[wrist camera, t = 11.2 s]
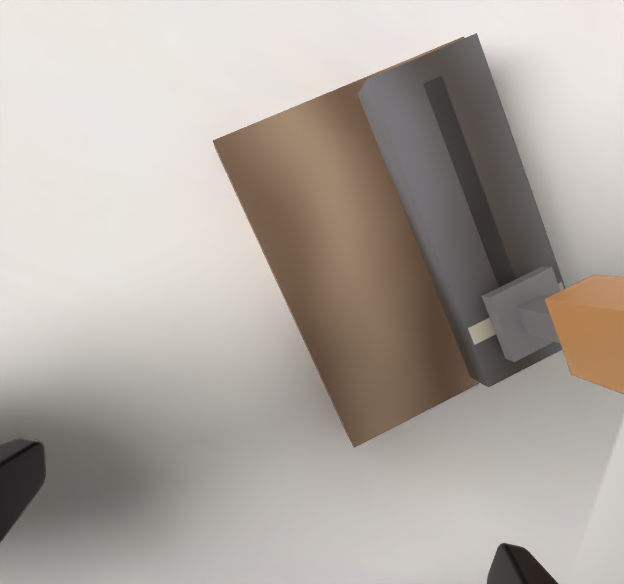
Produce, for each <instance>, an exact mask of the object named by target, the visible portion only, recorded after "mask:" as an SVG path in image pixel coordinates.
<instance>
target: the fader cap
mask: <svg viewBox="0 0 624 584" xmlns="http://www.w3.org/2000/svg"><path fill="white" fill-rule="evenodd" d="M482 298H483V301H484V304H485V306H486V309H487V312H488V314H489V317H490V319H491V322H492V325H493V327H494V330H495V333H496V335H497V338H498V340H499V343H500V346H501V348H502V351H503V353H504V356H505V359H508V360H510V361H513V362H516V361H518V360H520V359H522V358H523V357H525V356H527V355H529V354H531V353H533V352H535V351H537V350H539V349H541V348H543V347H545V346H547V345H549V344H551V343H553V342H556V343H559V344H561V346H562V349H563V352H564V355H565V357H566V360H567V363H568V366H569V369H570V372H571V374H572V375H574V376H577V377H579V378H582V379H585V380H588V381H590V382H593V383H596V384H598V385H601V386H604V387H606V388H609V389H612V390H614V391H617V392H620V393H622V394H624V277H618V276H601V275H592V276H590V277H588V278H586V279H584V280H582V281H580V282H578V283H576V284H574V285H572V286H570V287H568V288H566V289H564V290H562V291H560V288H559V285H558V283H557V280H556V277H555V274H554V271H553V268H552V267H540V268H538V269H536V270H534V271H532V272H530V273H528V274H526V275H524V276H522V277H520V278H518V279H516V280H513V281H511V282H509V283H507V284H505V285H503V286H501V287H499V288H497V289H495V290H493V291H491V292H489V293H487V294H485V295H483V296H482Z"/></svg>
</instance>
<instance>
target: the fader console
mask: <svg viewBox="0 0 624 584" xmlns="http://www.w3.org/2000/svg"><path fill="white" fill-rule="evenodd" d="M213 143H214V146H215V149H216V151H217V153H218V155H219V158H220V160H221V162H222V164H223V166H224V169H225V171H226V173H227V175H228V177H229V179H230V182H231V184H232V186H233V188H234V190H235V192H236V195H237V197H238V199H239V201H240V203H241V205H242V208H243V210H244V212H245V214H246V216H247V218H248V221H249V223H250V225H251V227H252V229H253V231H254V234H255V236H256V238H257V240H258V242H259V244H260V247H261V249H262V251H263V253H264V255H265V257H266V260H267V262H268V264H269V266H270V268H271V270H272V273H273V275H274V277H275V279H276V281H277V283H278V286H279V288H280V290H281V292H282V294H283V296H284V299H285V301H286V303H287V305H288V307H289V309H290V312H291V314H292V316H293V318H294V320H295V322H296V325H297V327H298V329H299V331H300V333H301V335H302V338H303V340H304V342H305V344H306V346H307V348H308V351H309V353H310V355H311V357H312V359H313V361H314V364H315V366H316V368H317V370H318V372H319V375H320V377H321V379H322V381H323V383H324V385H325V388H326V390H327V392H328V394H329V396H330V398H331V401H332V403H333V405H334V407H335V409H336V411H337V414H338V416H339V418H340V420H341V422H342V424H343V427H344V429H345V431H346V433H347V435H348V437H349V439H350V441H351V443H352V444H353V446H354V447H356V446H358V445H360V444H362V443H364V442H366V441H368V440H370V439H372V438H374V437H376V436H378V435H380V434H382V433H384V432H385V431H387V430H389V429H391V428H393V427H395V426H397V425H399V424H401V423H403V422H405V421H407V420H409V419H411V418H413V417H415V416H417V415H419V414H421V413H423V412H424V411H426V410H428V409H430V408H432V407H434V406H436V405H438V404H440V403H442V402H444V401H446V400H448V399H450V398H452V397H454V396H456V395H458V394H460V393H461V392H463V391H465V390H467V389H469V388H471V387H473V386H475V385H477V384H479V383H482V384H484V385H486V386H487V387H490V386H492V385H494V384H496V383H498V382H500V381H502V380H504V379H506V378H507V377H509V376H511V375H513V374H515V373H517V372H519V371H521V370H523V369H525V368H527V367H529V366H531V365H533V364H535V363H537V362H539V361H540V360H542V359H544V358H546V357H548V356H550V355H552V354H554V353H556V352H558V351H560V350H562V346H561V344H559V343H556V342H553V343H551V344H549V345H547V346H545V347H543V348H541V349H539V350H537V351H535V352H533V353H531V354H529V355H527V356H525V357H523V358H522V359H520V360H518V361H516V362H513V361H510V360H508V359H505V356H504V353H503V351H502V348H501V346H500V343H499V340H498V338H497V335H496V333H495V330H494V327H493V325H492V322H491V319H490V317H489V314H488V312H487V309H486V306H485V304H484V301H483V298H482V296H483V295H485V294H487V293H489V292H491V291H493V290H495V289H497V288H499V287H501V286H503V285H505V284H507V283H509V282H511V281H513V280H516V279H518V278H520V277H522V276H524V275H526V274H528V273H530V272H532V271H534V270H536V269H538V268H540V267H552V268H553V271H554V274H555V277H556V280H557V283H558V285H559V288H560V291H562V290H564V289H565V286H564V283H563V280H562V277H561V275H560V272H559V269H558V266H557V263H556V260H555V257H554V254H553V251H552V249H551V246H550V243H549V240H548V237H547V234H546V231H545V228H544V226H543V223H542V220H541V217H540V214H539V211H538V208H537V205H536V202H535V200H534V197H533V194H532V191H531V188H530V185H529V182H528V179H527V177H526V174H525V171H524V168H523V165H522V162H521V159H520V156H519V153H518V151H517V148H516V145H515V142H514V139H513V136H512V133H511V130H510V128H509V125H508V122H507V119H506V116H505V113H504V110H503V107H502V105H501V102H500V99H499V96H498V93H497V90H496V87H495V84H494V81H493V79H492V76H491V73H490V70H489V67H488V64H487V61H486V58H485V56H484V53H483V50H482V47H481V44H480V41H479V38H478V35H477V33H476V34H474V35H471V36H469V37H467V38H464V37H462V38H459V39H457V40H454V41H452V42H450V43H447V44H445V45H442V46H440V47H438V48H435V49H433V50H430V51H428V52H425V53H423V54H421V55H418V56H416V57H413V58H411V59H409V60H406V61H404V62H401V63H399V64H397V65H394V66H392V67H389V68H387V69H384V70H382V71H380V72H377V73H375V74H372V75H370V76H368V77H365V78H363V79H360V80H358V81H356V82H353V83H351V84H348V85H346V86H343V87H341V88H339V89H336V90H334V91H331V92H329V93H327V94H324V95H322V96H319V97H317V98H315V99H312V100H310V101H307V102H305V103H302V104H300V105H298V106H295V107H293V108H290V109H288V110H286V111H283V112H281V113H278V114H276V115H274V116H271V117H269V118H266V119H264V120H261V121H259V122H257V123H254V124H252V125H249V126H247V127H245V128H242V129H240V130H237V131H235V132H232V133H230V134H228V135H225V136H223V137H220V138H218V139H216V140H213Z"/></svg>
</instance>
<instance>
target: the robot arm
mask: <svg viewBox="0 0 624 584" xmlns="http://www.w3.org/2000/svg"><path fill="white" fill-rule="evenodd" d="M45 477H46V464H45V448H44V445H43V443H42V442H40V441H38V440H33V439H29V438H18V439H15V440H12V441H10V442H7V443H4V444H1V445H0V543H1V541H2V540H3V539H4V537H5V536H6V535H7V533H8V532H9V530H10V529H11V528H12V526H13V525H14V524H15V522H16V521H17V520H18V518H19V517H20V516H21V514H22V513H23V511H24V510H25V509H26V507H27V506H28V505H29V503H30V502H31V501H32V499H33V498H34V497H35V495H36V494H37V492H38V491H39V490H40V488H41V487H42V485H43V483H44V480H45ZM487 584H558V583H557V582H556V581H555V580H554V578H553V577H552V576H551V575H550V574H549V573H548V572H547V571H546V570H545V569H544V568H543V567H542V565H541V564H540V563H539V562H538V561H537V560H536V559H535V558H534V557H533V556H532V555H531V553H530V552H529V551H528V550H526V549H525V548H523V547H520V546H516V545H511V544H507V543H502V544H500V545H499V547H498V548H497V551H496V554H495V557H494V559H493V562H492V565H491V568H490V571H489V573H488V578H487Z"/></svg>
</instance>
